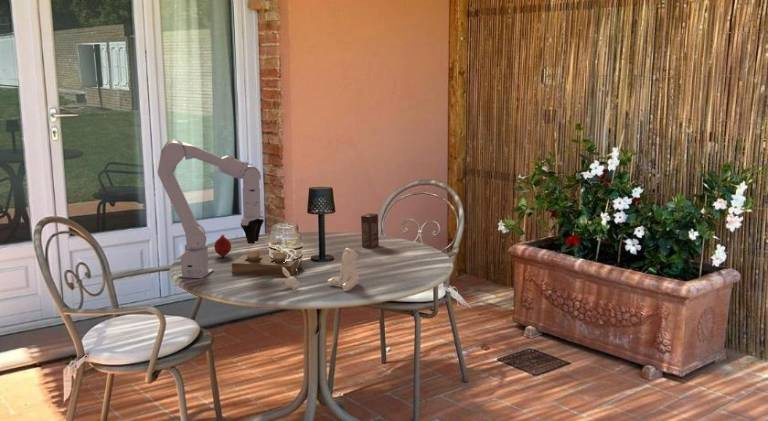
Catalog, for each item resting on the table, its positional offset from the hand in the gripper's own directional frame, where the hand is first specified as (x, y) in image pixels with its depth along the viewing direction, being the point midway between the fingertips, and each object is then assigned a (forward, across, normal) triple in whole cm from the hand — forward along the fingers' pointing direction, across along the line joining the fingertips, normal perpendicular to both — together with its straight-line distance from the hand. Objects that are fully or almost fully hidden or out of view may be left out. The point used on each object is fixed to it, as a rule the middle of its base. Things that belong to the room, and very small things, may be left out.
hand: (253, 242), depth 258 cm
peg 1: (+6, 0, 0) cm, 6 cm away
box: (+10, +39, -32) cm, 51 cm away
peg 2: (+6, 0, -9) cm, 11 cm away
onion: (+10, +14, +16) cm, 24 cm away
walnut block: (+9, 0, -4) cm, 10 cm away
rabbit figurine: (+10, -17, -16) cm, 26 cm away
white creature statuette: (+10, -12, -34) cm, 38 cm away
